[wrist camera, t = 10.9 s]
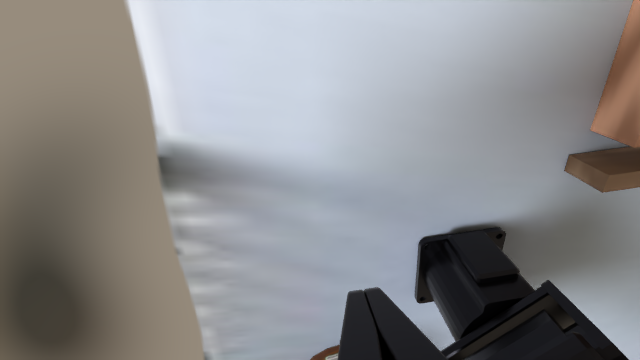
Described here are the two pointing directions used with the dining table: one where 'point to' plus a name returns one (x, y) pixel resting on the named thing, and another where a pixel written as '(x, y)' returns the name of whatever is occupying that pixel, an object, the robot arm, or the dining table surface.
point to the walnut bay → (607, 168)
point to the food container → (327, 354)
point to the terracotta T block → (623, 88)
